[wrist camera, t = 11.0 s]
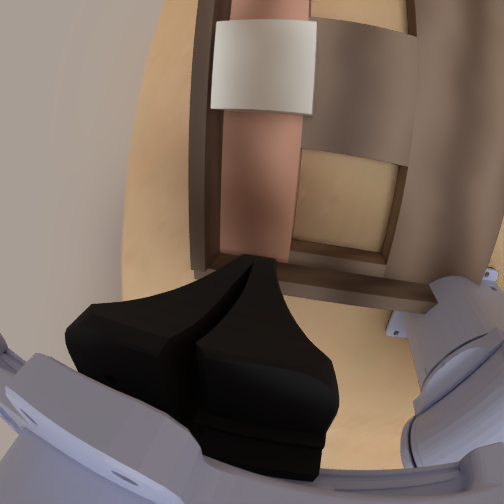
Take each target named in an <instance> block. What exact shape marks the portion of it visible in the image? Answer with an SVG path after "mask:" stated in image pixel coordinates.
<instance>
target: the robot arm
mask: <svg viewBox="0 0 504 504" xmlns="http://www.w3.org/2000/svg"><path fill="white" fill-rule="evenodd" d="M276 270H277V260H276V259H275V258H269V257H263V256H256V255H250V254H243V255H241V256H239V257H237V258H236V259H234V260H233V261H231V262H229V263H228V264H226V265H224V266H223V267H221V268H219V269H218V270H216V271H214V272H212V273H210V274H208V275H206V276H205V277H203V278H201V279H199V280H197V281H195V282H192V283H190V284H188V285H185V286H182V287H180V288H177V289H174V290H171V291H168V292H164V293H161V294H157V295H154V296H150V297H146V298H141V299H136V300H130V301H123V302H113V303H102V304H91V305H90V306H89V307H88V308H87V309H86V310H85V311H84V312H83V313H82V314H81V315H80V316H79V317H78V318H77V319H76V320H75V321H74V322H73V323H72V324H71V325H70V326H69V327H68V328H67V329H66V332H65V341H66V346H67V349H68V351H69V354H70V356H71V358H72V360H73V362H74V364H75V366H76V368H77V370H78V372H77V371H75V370H74V369H72V368H70V367H68V366H66V365H64V364H63V363H61V362H59V361H57V360H55V359H54V358H52V357H49V356H46V355H44V354H40V353H35V354H34V355H33V357H31V358H30V359H29V361H27V362H26V361H25V360H23V359H22V358H21V357H19V356H18V355H17V354H15V353H14V352H12V351H11V350H10V349H9V348H8V346H7V344H6V342H5V340H4V338H3V337H2V335H1V334H0V416H1V417H2V418H3V419H4V420H5V421H6V422H7V423H8V424H9V425H10V426H11V427H12V428H13V429H14V430H15V431H16V432H17V433H18V434H19V436H18V438H17V439H16V441H15V442H14V443H13V444H12V446H11V447H10V448H9V450H8V451H7V453H6V454H5V456H4V457H3V458H2V460H1V461H0V504H504V292H503V291H502V290H501V289H500V287H499V286H498V285H497V284H496V279H497V277H498V271H497V270H496V269H493V268H488V267H487V269H486V271H485V273H486V272H487V274H486V275H485V274H484V277H483V279H482V282H481V284H480V286H479V285H477V284H475V283H473V282H472V281H471V280H469V279H467V278H465V277H461V276H447V277H443V278H440V279H438V280H436V281H434V282H432V283H430V284H429V286H430V288H431V290H432V292H433V294H434V296H435V298H436V299H437V301H438V304H437V305H436V306H434V307H433V308H432V309H430V310H429V311H428V312H427V313H426V314H418V313H410V312H401V311H393V313H392V315H391V318H390V320H389V323H388V325H387V328H386V335H387V336H391V337H401V338H407V339H408V342H409V346H410V349H411V353H412V357H413V361H414V365H415V369H416V373H417V378H418V382H419V387H420V391H421V394H420V395H419V396H418V397H417V398H416V399H415V400H414V401H413V404H414V410H415V416H413V417H412V418H410V419H409V420H408V421H407V423H406V424H405V426H404V428H403V430H402V434H401V442H400V453H401V460H402V464H403V467H404V469H391V470H336V469H321V468H320V463H321V455H322V449H323V448H324V446H325V439H326V432H327V430H328V429H329V427H330V425H331V423H332V422H333V420H334V418H335V416H336V414H337V411H338V408H339V391H338V384H337V379H336V375H335V371H334V367H333V364H332V361H331V360H330V359H329V358H328V357H327V356H326V355H325V354H324V353H323V352H322V351H320V350H319V349H318V348H317V347H316V346H315V345H314V344H313V343H312V342H311V341H310V340H309V339H308V338H307V337H306V335H305V334H304V332H303V331H302V330H301V328H300V327H299V326H298V324H297V323H296V321H295V320H294V318H293V316H292V315H291V313H290V311H289V309H288V307H287V305H286V303H285V300H284V298H283V295H282V292H281V289H280V286H279V282H278V278H277V271H276ZM395 331H397V332H395Z"/></svg>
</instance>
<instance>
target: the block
mask: <svg viewBox="0 0 504 504" xmlns="http://www.w3.org/2000/svg"><path fill="white" fill-rule="evenodd" d="M317 50H318V36H317V22H314V21H302V20H281V19H251V20H230V21H217V22H216V33H215V46H214V59H213V73H212V90H211V109H219V110H228V111H242V112H263V113H278V114H290V115H300V116H309V117H313V114H314V100H315V86H316V70H317Z"/></svg>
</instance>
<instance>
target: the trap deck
mask: <svg viewBox="0 0 504 504" xmlns="http://www.w3.org/2000/svg"><path fill="white" fill-rule="evenodd" d="M406 1H407V15H408V34H404V33H401V32H397V31H393V30H389V29H385V28H381V27H376V26H371V25H366V24H361V23H355V22H349V21H343V20H335V19H327V18H318V17H310V9H311V0H198V8H197V17H196V27H195V37H194V49H193V62H192V77H191V95H190V119H189V233H190V258H191V270H194V276H195V279H198V280H199V279H201V278H203V277H205V276H206V275H208V274H210V273H212V272H214V271H216V270H218V269H219V268H221V267H223V266H224V265H226V264H228V263H229V262H231V261H233V260H234V259H236V258H237V257H239V256H241V255H243V254H250V255H256V256H263V257H269V258H275V259H276V260H277V270H276V271H277V278H278V282H279V286H280V289H281V292H282V295H288V296H294V297H301V298H307V299H314V300H320V301H327V302H334V303H341V304H348V305H355V306H362V307H370V308H377V309H385V310H393V311H401V312H410V313H418V314H426V313H427V312H428V311H429V310H430V309H432V308H433V307H434V306H436V305H437V304H438V301H437V299H436V298H435V296H434V294H433V292H432V290H431V288H430V286H429V284H430V283H432V282H434V281H436V280H438V279H440V278H443V277H447V276H461V277H465V278H467V279H469V280H471V281H472V282H473V283H475V284H477V285H479V286H480V284H481V282H482V279H483V277H484V274H485V271H486V269H487V266H488V264H489V261H490V258H491V255H492V252H493V249H494V246H495V243H496V240H497V237H498V234H499V230H500V227H501V223H502V220H503V216H504V0H406ZM251 19H281V20H302V21H314V22H317V36H318V50H317V70H316V86H315V100H314V114H313V117H309V116H300V115H290V114H278V113H263V112H242V111H228V110H219V109H211V90H212V73H213V59H214V46H215V33H216V22H217V21H230V20H251ZM302 148H305V149H313V150H320V151H327V152H334V153H340V154H346V155H352V156H358V157H364V158H369V159H374V160H379V161H384V162H389V163H394V164H398V165H400V167H399V173H398V179H397V185H396V190H395V196H394V201H393V206H392V211H391V215H390V220H389V224H388V229H387V233H386V237H385V241H384V245H383V249H382V253H377V252H371V251H364V250H358V249H352V248H345V247H339V246H333V245H326V244H320V243H313V242H306V241H300V240H293V239H292V238H293V229H294V221H295V212H296V203H297V194H298V185H299V175H300V165H301V154H302Z"/></svg>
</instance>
